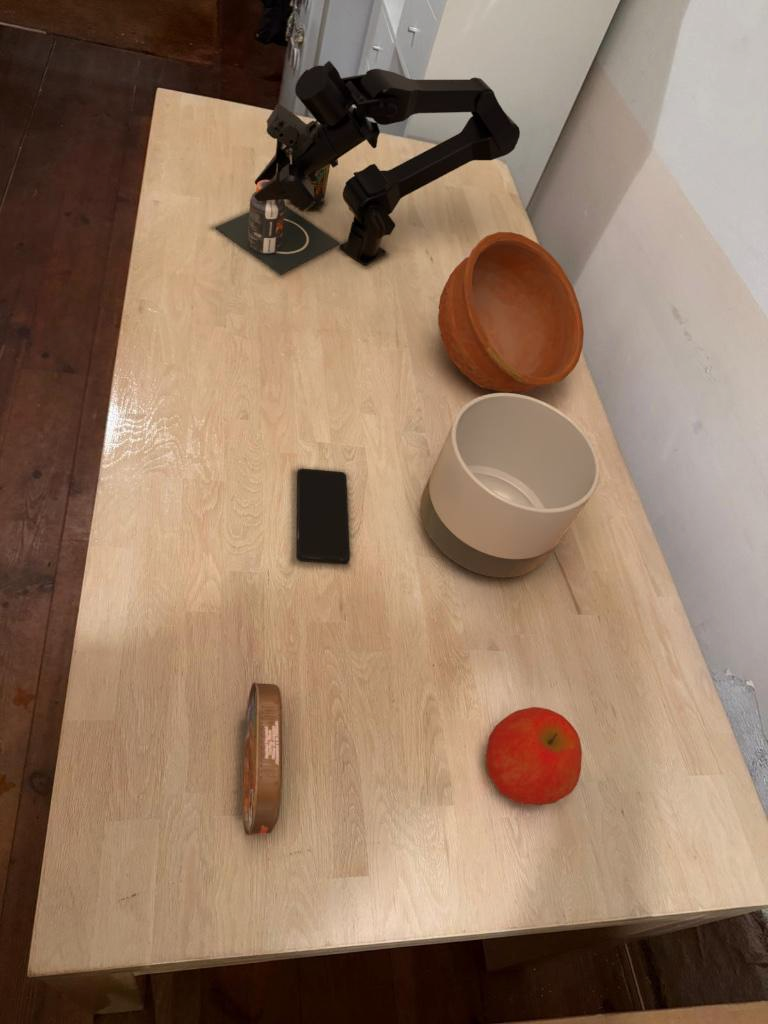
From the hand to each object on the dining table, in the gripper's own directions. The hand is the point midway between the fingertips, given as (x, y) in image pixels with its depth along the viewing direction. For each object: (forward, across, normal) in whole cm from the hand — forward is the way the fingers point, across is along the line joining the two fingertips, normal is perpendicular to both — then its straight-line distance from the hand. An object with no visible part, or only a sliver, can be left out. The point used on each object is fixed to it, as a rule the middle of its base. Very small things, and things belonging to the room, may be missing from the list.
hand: (256, 191), depth 124 cm
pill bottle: (+5, 0, +9) cm, 10 cm away
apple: (-15, +93, +30) cm, 99 cm away
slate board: (+4, -4, +11) cm, 12 cm away
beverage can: (0, -17, +15) cm, 22 cm away
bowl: (-20, +22, +32) cm, 43 cm away
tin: (+6, +93, +10) cm, 93 cm away
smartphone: (0, +59, +15) cm, 61 cm away
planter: (-16, +60, +31) cm, 69 cm away
